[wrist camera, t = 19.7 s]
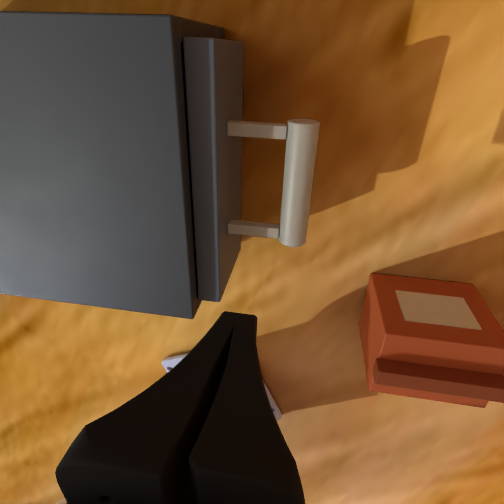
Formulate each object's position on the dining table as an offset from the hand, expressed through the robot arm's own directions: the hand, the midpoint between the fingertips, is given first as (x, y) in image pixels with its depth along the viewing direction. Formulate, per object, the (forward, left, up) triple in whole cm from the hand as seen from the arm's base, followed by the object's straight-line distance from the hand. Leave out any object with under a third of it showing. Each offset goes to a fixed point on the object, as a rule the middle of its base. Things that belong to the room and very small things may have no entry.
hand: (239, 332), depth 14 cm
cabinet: (+8, +7, -10) cm, 15 cm away
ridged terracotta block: (-9, -7, -10) cm, 16 cm away
